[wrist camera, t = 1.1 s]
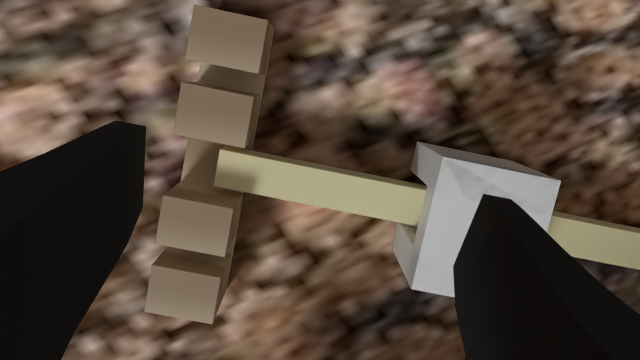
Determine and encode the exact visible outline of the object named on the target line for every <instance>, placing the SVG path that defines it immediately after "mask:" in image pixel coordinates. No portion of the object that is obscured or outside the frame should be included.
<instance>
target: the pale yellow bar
mask: <svg viewBox="0 0 640 360" xmlns="http://www.w3.org/2000/svg"><path fill="white" fill-rule="evenodd" d="M214 186H216V187H221V188H226V189H231V190H237V191H242V192H247V193H252V194H257V195H262V196H267V197H272V198H277V199H282V200H287V201H292V202H297V203H303V204H308V205H313V206H318V207H323V208H328V209H333V210H338V211H343V212H348V213H353V214H358V215H364V216H369V217H374V218H379V219H384V220H389V221H394V222H399V223H404V224H409V225H414V226H418V223H419V219H420V215H421V211H422V206H423V202H424V198H425V194H426V190H427V186H426V185H421V184H416V183H411V182H407V181H402V180H397V179H392V178H387V177H382V176H377V175H372V174H367V173H362V172H357V171H352V170H347V169H342V168H337V167H332V166H327V165H322V164H317V163H312V162H307V161H302V160H297V159H292V158H287V157H282V156H277V155H272V154H267V153H262V152H257V151H252V150H247V149H242V148H237V147H232V146H227V145H225V146H224V147H222V148H221V149H220V152H219V157H218V163H217V169H216V174H215V180H214ZM547 233H548V234H549V235H550V236H551V237H552V238H553V239H554V240H555V241H556V242H557V243H558V244H559V245H560V246H561V247H562V248H563V249H564V250H565V251H566V252H567V253H568V254H569V255H570V256H572V257H577V258H582V259H587V260H592V261H597V262H602V263H607V264H612V265H617V266H623V267H628V268H633V269H638V270H640V228H636V227H631V226H626V225H621V224H616V223H611V222H606V221H601V220H596V219H591V218H586V217H581V216H576V215H571V214H566V213H561V212H556V211H553V212H552V216H551V219H550V223H549V227H548V230H547Z"/></svg>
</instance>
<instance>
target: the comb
mask: <svg viewBox="0 0 640 360" xmlns="http://www.w3.org/2000/svg"><path fill="white" fill-rule="evenodd" d="M274 31H275V29H274V28H273V26H272V25H271V24H270V22H269V21H268V20H265V19H260V18H255V17H251V16H246V15H241V14H236V13H232V12H227V11H222V10H218V9H213V8H208V7H203V6H199V5H194V8H193V14H192V20H191V27H190V33H189V39H188V45H187V51H186V57H185V59H189V60H194V61H199V62H201V64H200V70H199V76H198V82H181V88H180V94H179V101H178V107H177V113H176V119H175V125H174V131H173V134H176V135H181V136H186V137H188V142H187V148H186V154H185V160H184V166H183V172H182V178H181V182H180V183H178V184H177V185H176V186H174V187H173V188H172V189H171V190H169V191H168V192H167V193H165V194H164V195H163V199H162V205H161V212H160V218H159V224H158V230H157V236H156V242H155V244H159V245H164V246H168V247H167V248H166V249H165V250H164V252H163V253H162V254H161V255H160V256H159V257H158V258H157V260H156V261H155V262H154V263H153V264H152V267H151V273H150V280H149V286H148V292H147V298H146V304H145V310H144V312H149V313H155V314H160V315H165V316H171V317H176V318H181V319H187V320H192V321H198V322H203V323H208V324H213V321H214V319H215V316H216V314H217V311H218V309H219V306H220V304H221V301H222V299H223V297H224V294H225V292H226V289H227V284H228V278H229V273H230V268H231V262H232V257H233V252H234V246H235V241H236V235H237V230H238V225H239V219H240V214H241V209H242V203H243V198H244V192H242V191H237V190H231V189H226V188H221V187H216V186H214V180H215V174H216V169H217V163H218V157H219V152H220V149H221V148H222V147H224V146H225V145H227V146H232V147H237V148H242V149H247V150H252V149H253V144H254V139H255V133H256V128H257V122H258V117H259V112H260V106H261V101H262V96H263V90H264V85H265V79H266V74H267V69H268V63H269V58H270V53H271V47H272V42H273V36H274Z"/></svg>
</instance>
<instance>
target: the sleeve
mask: <svg viewBox="0 0 640 360" xmlns="http://www.w3.org/2000/svg"><path fill="white" fill-rule="evenodd" d="M410 170H411V171H412V172H413V173H414V174H415V175H416V176H417V177H418V178H419V179H421V180H422V181H423V182H424V183H425V184H426V185H427V190H426V194H425V198H424V202H423V206H422V211H421V215H420V219H419V223H418V226H414V225H409V224H404V223H399V222H398V225H397V229H396V233H395V237H394V242H393V246H392V250H393V252H394V254H395V256H396V258H397V260H398V262H399V264H400V267H401V269H402V271H403V273H404V275H405V277H406V279H407V281H408V283H409V286H410V288H411V289H413V290H418V291H424V292H429V293H434V294H439V295H445V296H450V297H455V294H454V276H453V265H454V263H455V260H456V258H457V256H458V253H459V251H460V248H461V246H462V244H463V241H464V239H465V236H466V234H467V232H468V229H469V227H470V224H471V222H472V220H473V217H474V215H475V212H476V210H477V208H478V205H479V203H480V200H481V198H482V195H483V194H488V195H493V196H498V197H503V198H508V199H511V200H513V201H514V202H515V203H516V204H518V205H519V206H520V207H521V208H522V209H523V210H524V211H525V212H527V213H528V214H529V215H530V216H531V217H532V218H533V219H534V220H535V221H536V222H537V223H538V224H539V225H540V226H541V227H542V228H543V229H544V230H545V231H546V232H547V230H548V227H549V223H550V219H551V216H552V212H553V209H554V205H555V201H556V198H557V194H558V191H559V187H560V183H561V181H560V180H558V179H555V178H553V177H550V176H548V175H546V174H543V173H541V172H538V171H536V170H533V169H531V168H528V167H526V166H523V165H521V164H518V163H516V162H514V161H510V160H506V159H501V158H496V157H491V156H486V155H481V154H476V153H471V152H466V151H461V150H457V149H452V148H447V147H442V146H437V145H432V144H427V143H422V142H417V143H416V147H415V152H414V156H413V160H412V164H411V169H410Z"/></svg>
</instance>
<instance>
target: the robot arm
mask: <svg viewBox="0 0 640 360" xmlns="http://www.w3.org/2000/svg"><path fill="white" fill-rule="evenodd" d="M145 137H146V126H141V125H136V124H131V123H126V122H121V121H114V122H111V123H109V124H106V125H104V126H102V127H100V128H98V129H95V130H93V131H91V132H89V133H87V134H85V135H83V136H81V137H79V138H77V139H74V140H72V141H70V142H68V143H66V144H64V145H61V146H59V147H57V148H55V149H53V150H51V151H48V152H46V153H44V154H42V155H39V156H37V157H34V158H32V159H30V160H27V161H25V162H22V163H20V164H17V165H15V166H12V167H10V168H7V169H5V170H3V171H0V360H61V359H62V356H63V354H64V352H65V350H66V348H67V346H68V344H69V342H70V340H71V338H72V336H73V335H74V333H75V331H76V329H77V327H78V326H79V324H80V322H81V321H82V319H83V317H84V316H85V314H86V312H87V311H88V309H89V307H90V306H91V304H92V302H93V301H94V299H95V297H96V296H97V294H98V293H99V291H100V289H101V288H102V286H103V284H104V283H105V281H106V279H107V278H108V276H109V274H110V273H111V271H112V269H113V268H114V266H115V264H116V263H117V261H118V259H119V258H120V256H121V254H122V252H123V251H124V249H125V247H126V246H127V243H128V241H129V239H130V237H131V234H132V232H133V230H134V227H135V225H136V222H137V220H138V217H139V215H140V212H141V210H142V208H143V189H144V163H145ZM453 276H454V294H455V307H456V312H457V317H458V322H459V327H460V331H461V336H462V341H463V346H464V350H465V355H466V359H467V360H640V315H639V314H638V313H637V312H635V311H634V310H633V309H631V308H630V307H629V306H627V305H626V304H625V303H624V302H622V301H621V300H620V299H619V298H618V297H616V296H615V295H614V294H613V293H612V292H610V291H609V290H608V289H607V288H606V287H605V286H604V285H602V284H601V283H600V282H599V281H598V280H597V279H595V278H594V277H593V276H592V275H591V274H590V273H589V272H588V271H586V270H585V269H584V268H583V267H582V266H581V265H580V264H579V263H578V262H577V261H576V260H575V259H574V258H573V257H571V256H570V255H569V254H568V253H567V252H566V251H565V250H564V249H563V248H562V247H561V246H560V245H559V244H558V243H557V242H556V241H555V240H554V239H553V238H552V237H551V236H550V235H549V234H548V233H547V232H546V231H545V230H544V229H543V228H542V227H541V226H540V225H539V224H538V223H537V222H536V221H535V220H534V219H533V218H532V217H531V216H530V215H529V214H528V213H527V212H525V211H524V210H523V209H522V208H521V207H520V206H519V205H518V204H516V203H515V202H514V201H513V200H511V199H508V198H503V197H498V196H493V195H488V194H483V195H482V198H481V200H480V203H479V205H478V208H477V210H476V212H475V215H474V217H473V220H472V222H471V224H470V227H469V229H468V232H467V234H466V236H465V239H464V241H463V244H462V246H461V248H460V251H459V253H458V256H457V258H456V260H455V263H454V265H453Z"/></svg>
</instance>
